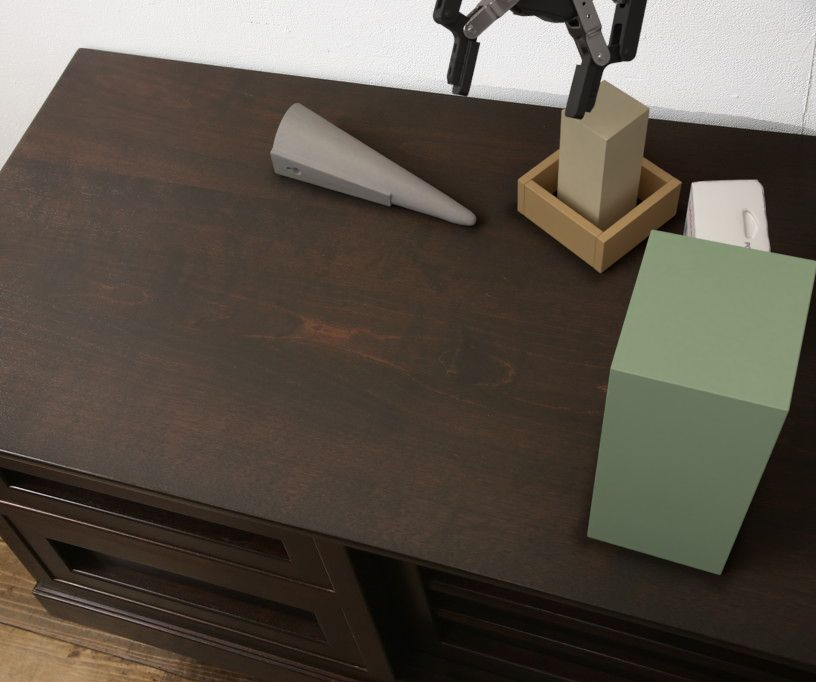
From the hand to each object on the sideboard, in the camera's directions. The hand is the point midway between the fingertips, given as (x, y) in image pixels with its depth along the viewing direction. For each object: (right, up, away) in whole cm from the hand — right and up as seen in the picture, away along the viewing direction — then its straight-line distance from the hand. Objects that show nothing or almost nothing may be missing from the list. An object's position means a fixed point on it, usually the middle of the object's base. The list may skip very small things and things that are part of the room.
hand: (517, 106), depth 76 cm
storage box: (+10, -6, +15) cm, 19 cm away
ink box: (+16, -15, +8) cm, 24 cm away
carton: (+10, -6, +15) cm, 19 cm away
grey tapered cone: (-8, -2, +21) cm, 23 cm away
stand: (+11, -27, 0) cm, 29 cm away
